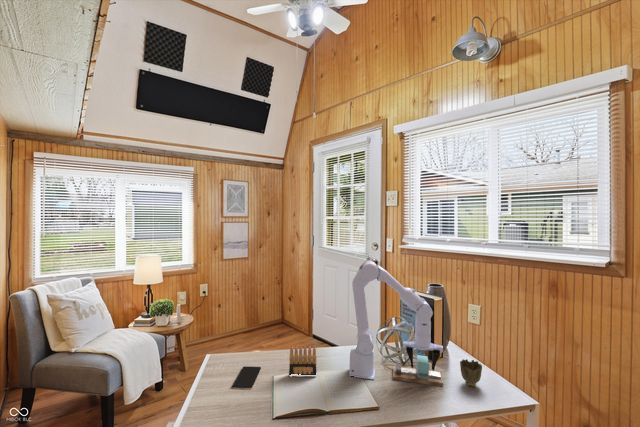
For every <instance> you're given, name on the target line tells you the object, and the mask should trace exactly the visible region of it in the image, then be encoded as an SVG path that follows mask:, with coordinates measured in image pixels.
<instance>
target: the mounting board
mask: <svg viewBox="0 0 640 427" xmlns="http://www.w3.org/2000/svg"><path fill="white" fill-rule="evenodd" d="M392 367H393V369H392V380H393V381H395V380H396V381H403V382H409V383H418V384H424V385H432V386H440V387H444V381H443V377H442V373H441V370H435V369H434V372H440V375H441V379H437V378H430V377H429V379H423V378H418V376H414V375H407V374H401V375H400V374H396V373H395V367H396V364H395V365H393V366H392ZM401 367H402V368H410V369H417V367H413V368H411V366H404V365H403V366H402V365H401ZM429 371H432V369H429Z"/></svg>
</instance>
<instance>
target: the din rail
mask: <svg viewBox="0 0 640 427" xmlns="http://www.w3.org/2000/svg"><path fill="white" fill-rule="evenodd" d="M395 365H396V367H395V373H396V374H400V375H401V374H407V375H414V376H418V374H417V369H410V368H402V367H401V366H402V363H395ZM440 372H441V371H440ZM440 372H434V371H429V377H430V378H437V379H441V376H442V374H441V375H440Z"/></svg>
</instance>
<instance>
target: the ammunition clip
mask: <svg viewBox="0 0 640 427" xmlns="http://www.w3.org/2000/svg"><path fill="white" fill-rule="evenodd" d="M294 346H295V347H293V345H291V346H290V350H289V361H288V362H289V369H288V376H289V375H291V374H298V375H299V374H301V375H316V373H317V348H316V345H315V344H314V345H313V348H312V345H308V350H307V346H306V344H305V345H304V346H303V347H304V348H303V347H302V344H301V345H299V350H298V345H296V344H295V345H294Z"/></svg>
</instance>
